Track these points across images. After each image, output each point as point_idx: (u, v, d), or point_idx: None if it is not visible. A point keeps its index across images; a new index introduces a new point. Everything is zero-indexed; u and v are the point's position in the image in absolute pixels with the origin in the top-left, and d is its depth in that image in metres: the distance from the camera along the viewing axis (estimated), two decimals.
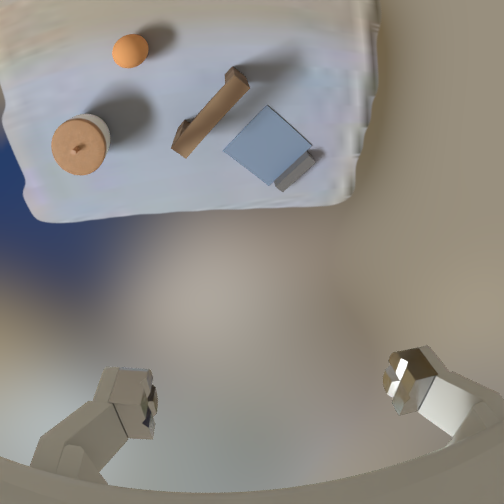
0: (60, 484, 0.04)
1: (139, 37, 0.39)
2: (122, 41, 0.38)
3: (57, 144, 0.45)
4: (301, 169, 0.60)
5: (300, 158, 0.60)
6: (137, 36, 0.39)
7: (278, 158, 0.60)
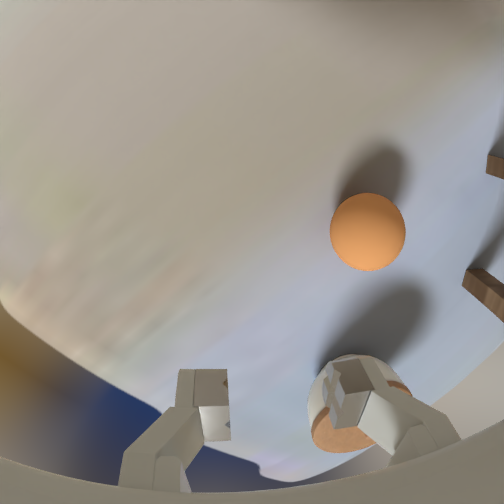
0: (60, 484, 0.04)
1: (376, 197, 0.22)
2: (358, 226, 0.21)
3: (328, 439, 0.27)
4: None
5: None
6: (371, 198, 0.22)
7: None
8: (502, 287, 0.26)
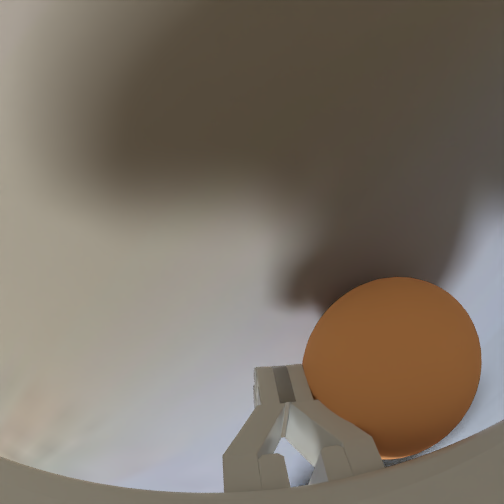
0: (60, 484, 0.04)
1: (427, 314, 0.07)
2: (388, 421, 0.06)
3: None
4: None
5: None
6: (417, 321, 0.07)
7: None
8: None
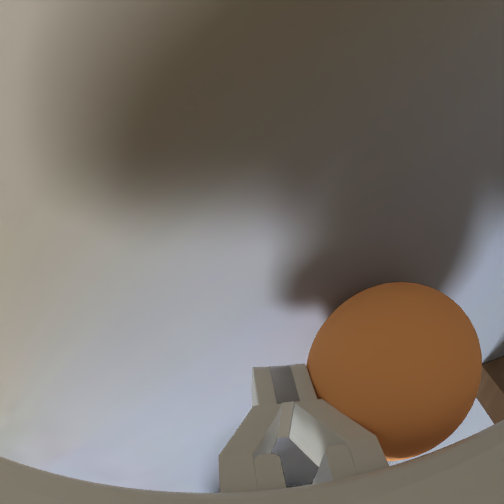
0: (60, 484, 0.04)
1: (436, 319, 0.07)
2: (396, 422, 0.06)
3: None
4: None
5: None
6: (426, 325, 0.07)
7: None
8: None
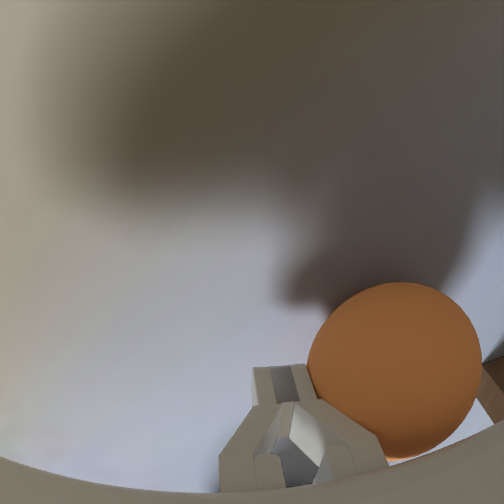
0: (60, 484, 0.04)
1: (436, 319, 0.07)
2: (396, 422, 0.06)
3: None
4: None
5: None
6: (426, 325, 0.07)
7: None
8: None
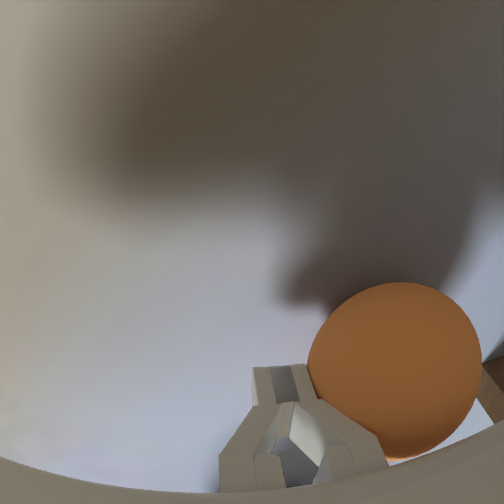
0: (60, 484, 0.04)
1: (436, 319, 0.07)
2: (396, 422, 0.06)
3: None
4: None
5: None
6: (426, 325, 0.07)
7: None
8: None
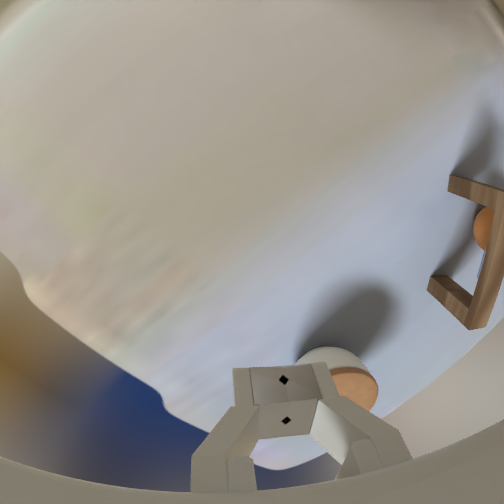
0: (60, 484, 0.04)
1: None
2: (486, 224, 0.30)
3: None
4: None
5: None
6: None
7: None
8: (462, 292, 0.32)
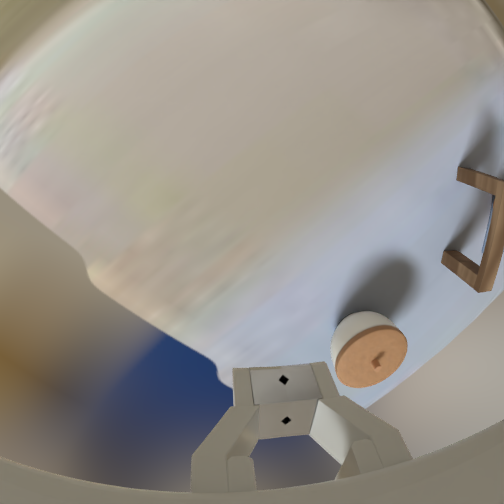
0: (60, 484, 0.04)
1: None
2: None
3: (347, 372, 0.39)
4: None
5: None
6: None
7: None
8: (470, 263, 0.39)
